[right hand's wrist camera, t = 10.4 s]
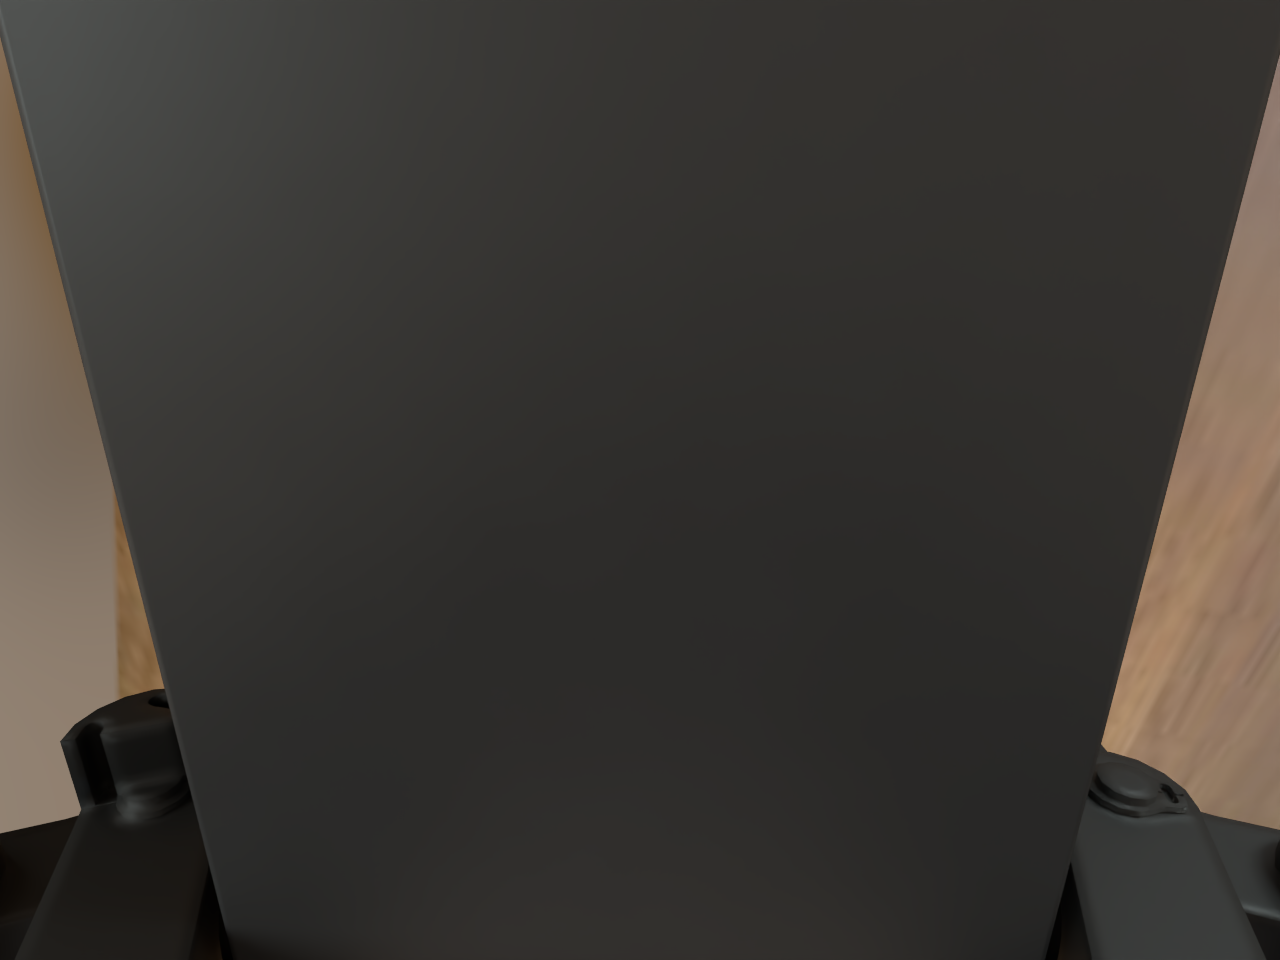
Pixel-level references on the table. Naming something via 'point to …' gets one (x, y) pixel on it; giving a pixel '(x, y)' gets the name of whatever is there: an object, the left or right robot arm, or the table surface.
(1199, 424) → the table surface
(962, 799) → the box
